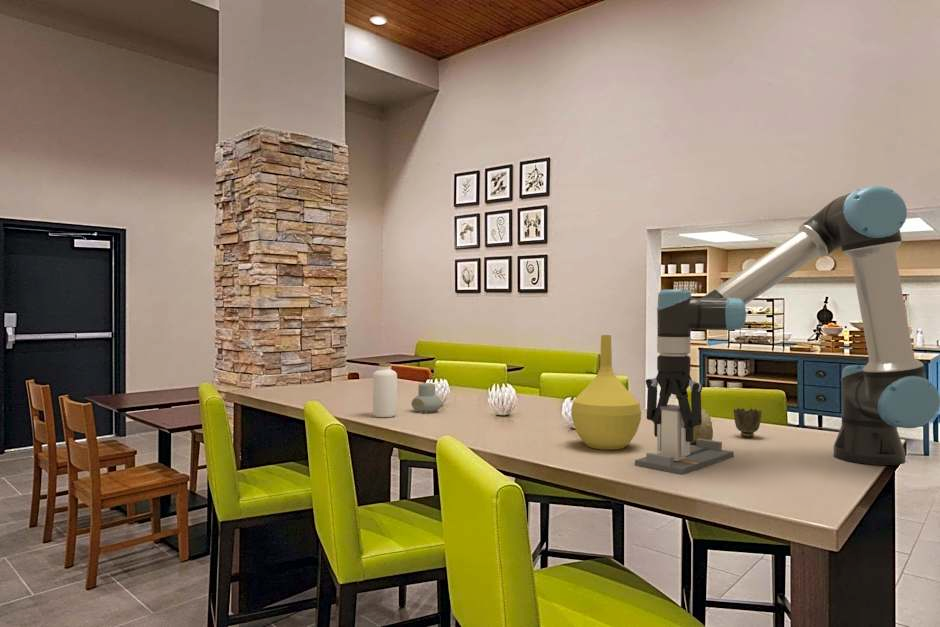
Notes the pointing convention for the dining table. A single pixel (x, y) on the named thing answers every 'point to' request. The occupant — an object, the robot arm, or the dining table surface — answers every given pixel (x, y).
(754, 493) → the dining table surface
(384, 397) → the white bottle
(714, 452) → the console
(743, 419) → the cup
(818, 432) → the dining table surface
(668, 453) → the fader tab
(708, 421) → the coral
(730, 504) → the dining table surface
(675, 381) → the robot arm
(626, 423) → the vase
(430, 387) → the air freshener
